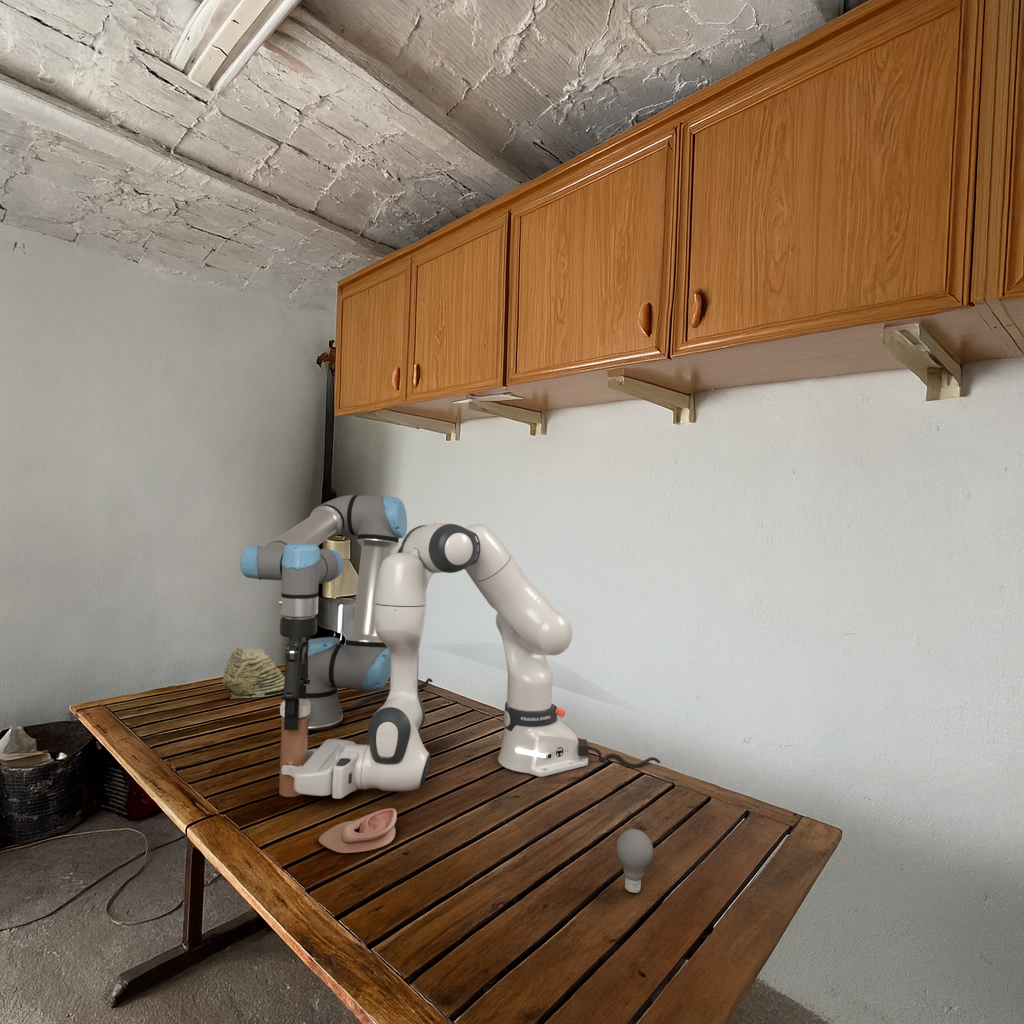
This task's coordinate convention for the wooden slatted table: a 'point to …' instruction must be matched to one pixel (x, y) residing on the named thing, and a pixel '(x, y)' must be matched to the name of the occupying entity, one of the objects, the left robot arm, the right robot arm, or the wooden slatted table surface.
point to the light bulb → (634, 857)
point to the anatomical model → (362, 833)
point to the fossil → (252, 674)
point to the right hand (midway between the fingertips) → (289, 762)
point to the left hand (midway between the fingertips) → (295, 721)
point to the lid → (303, 708)
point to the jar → (292, 753)
